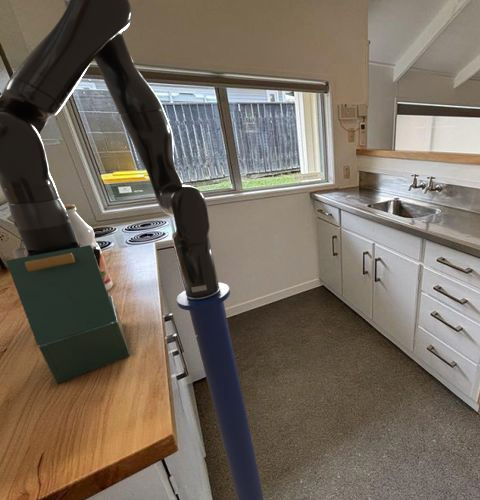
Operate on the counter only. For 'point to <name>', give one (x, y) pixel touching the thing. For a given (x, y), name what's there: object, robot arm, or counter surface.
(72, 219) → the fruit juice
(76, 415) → the counter surface
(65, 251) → the bin lid
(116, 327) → the bin
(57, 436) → the counter surface
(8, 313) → the counter surface
